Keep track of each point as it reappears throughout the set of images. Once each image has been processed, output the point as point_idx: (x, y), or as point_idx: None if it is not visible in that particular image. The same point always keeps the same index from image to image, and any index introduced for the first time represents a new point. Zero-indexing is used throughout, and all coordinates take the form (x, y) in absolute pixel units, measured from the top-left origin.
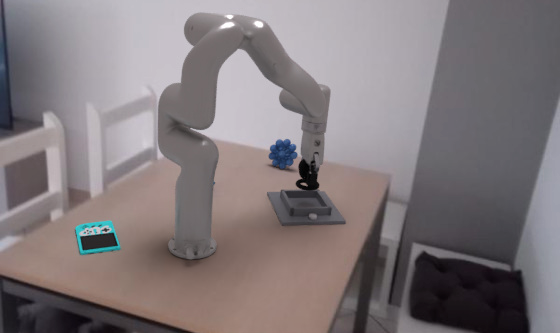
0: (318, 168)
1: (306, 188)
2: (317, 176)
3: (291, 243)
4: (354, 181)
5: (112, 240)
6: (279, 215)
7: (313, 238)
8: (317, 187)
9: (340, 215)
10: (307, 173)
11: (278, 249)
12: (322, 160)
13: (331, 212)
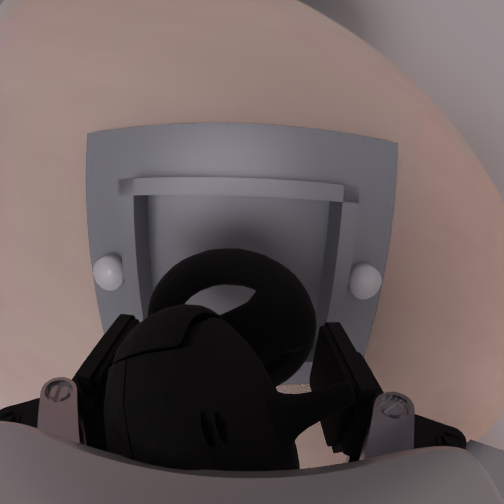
0: (487, 450)
1: (306, 358)
2: (363, 365)
3: (437, 356)
4: (37, 18)
5: None
6: (309, 381)
7: (442, 298)
8: (302, 285)
9: (352, 140)
10: (337, 448)
11: (441, 381)
12: (493, 489)
13: (319, 169)
